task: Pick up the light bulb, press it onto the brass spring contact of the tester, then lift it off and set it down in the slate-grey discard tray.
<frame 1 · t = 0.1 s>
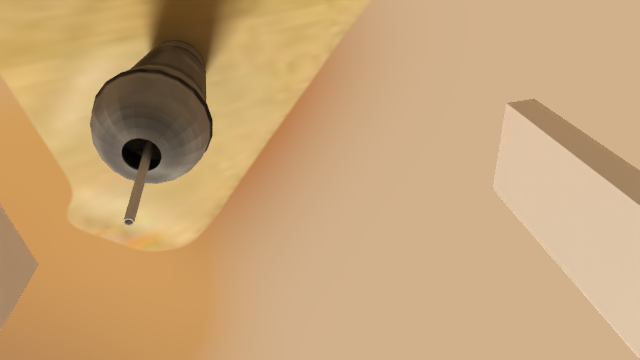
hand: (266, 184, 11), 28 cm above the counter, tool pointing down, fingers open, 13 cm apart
beverage cup: (178, 66, 37), on the counter
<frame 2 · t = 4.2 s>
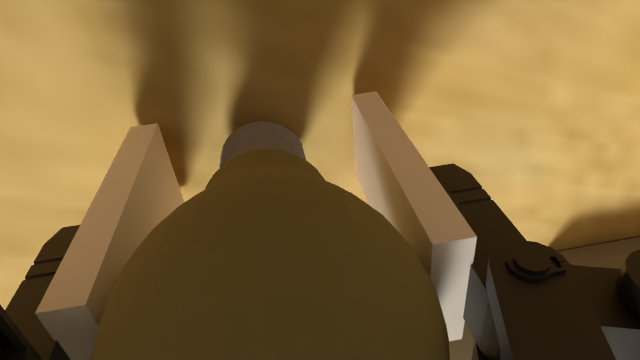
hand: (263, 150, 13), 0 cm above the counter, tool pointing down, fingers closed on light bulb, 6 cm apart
light bulb: (263, 142, 13), on the counter, touching gripper
tester: (596, 303, 20), on the counter
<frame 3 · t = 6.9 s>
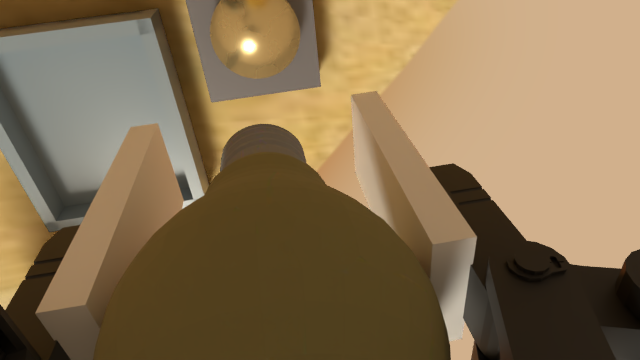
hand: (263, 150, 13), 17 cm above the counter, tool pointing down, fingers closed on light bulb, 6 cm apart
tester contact: (255, 34, 24), point 3 cm above the counter, slide at 0.0 cm
light bulb: (263, 144, 13), point 16 cm above the counter, touching gripper
tester: (254, 22, 27), on the counter
tray: (104, 120, 29), on the counter
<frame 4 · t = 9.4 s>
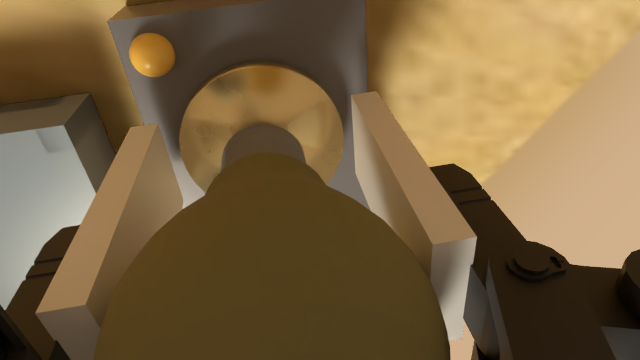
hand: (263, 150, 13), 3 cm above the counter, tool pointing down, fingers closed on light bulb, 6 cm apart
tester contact: (263, 142, 13), point 3 cm above the counter, slide at -0.4 cm, touching light bulb
light bulb: (263, 145, 13), point 3 cm above the counter, touching gripper, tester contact
tester: (261, 110, 15), on the counter
tray: (14, 261, 17), on the counter
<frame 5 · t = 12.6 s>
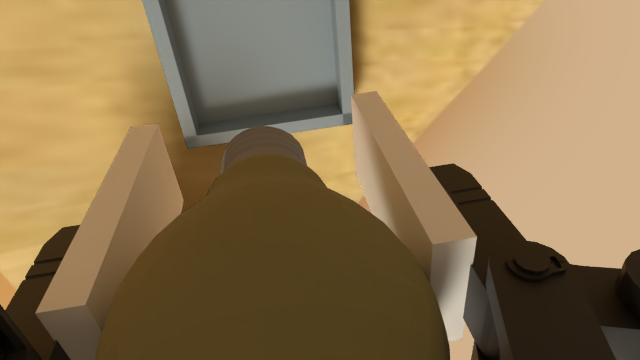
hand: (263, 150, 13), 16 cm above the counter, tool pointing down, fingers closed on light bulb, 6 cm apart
light bulb: (263, 146, 13), point 16 cm above the counter, touching gripper
tray: (254, 23, 26), on the counter
when the fingers open (3 cm above the counter, at t = 15.2 s): light bulb drops 2 cm, resting on tray.
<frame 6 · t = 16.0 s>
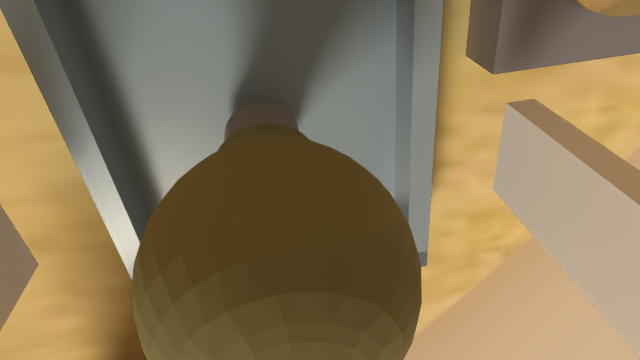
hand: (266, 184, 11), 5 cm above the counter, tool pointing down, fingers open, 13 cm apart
light bulb: (261, 121, 15), point 1 cm above the counter, touching tray
tray: (260, 112, 15), on the counter
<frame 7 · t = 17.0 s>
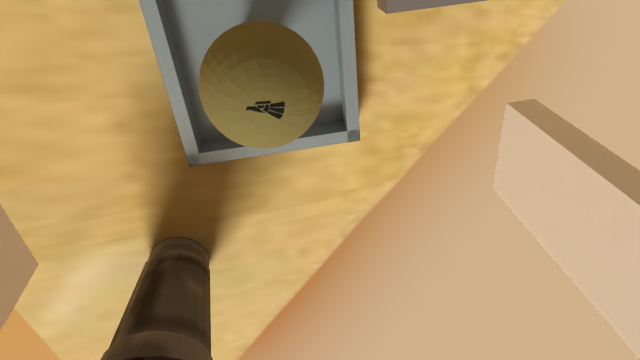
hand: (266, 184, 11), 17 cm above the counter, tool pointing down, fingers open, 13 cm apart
light bulb: (257, 44, 25), point 1 cm above the counter, touching tray
beverage cup: (180, 258, 34), on the counter
tray: (257, 40, 26), on the counter
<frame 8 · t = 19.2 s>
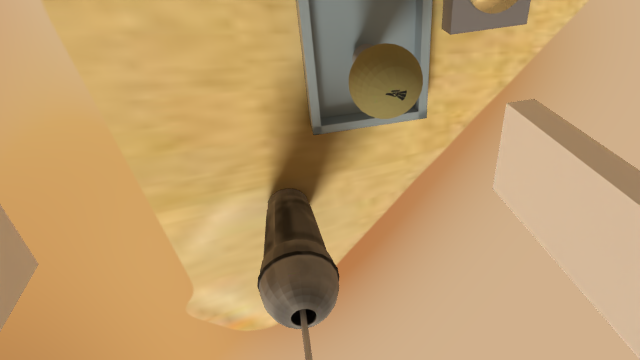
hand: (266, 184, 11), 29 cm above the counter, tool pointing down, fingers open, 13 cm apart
light bulb: (363, 53, 39), point 1 cm above the counter, touching tray
beverage cup: (288, 204, 47), on the counter
tray: (362, 50, 39), on the counter
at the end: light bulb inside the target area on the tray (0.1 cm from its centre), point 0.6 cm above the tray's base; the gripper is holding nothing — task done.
